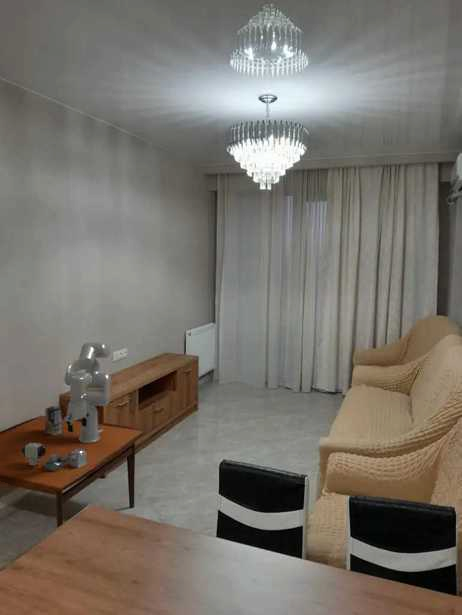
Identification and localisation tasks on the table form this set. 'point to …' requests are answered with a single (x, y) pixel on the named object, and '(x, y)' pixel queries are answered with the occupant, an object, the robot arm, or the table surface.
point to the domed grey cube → (78, 458)
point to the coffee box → (53, 420)
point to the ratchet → (56, 462)
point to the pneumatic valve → (33, 452)
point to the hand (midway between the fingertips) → (77, 428)
